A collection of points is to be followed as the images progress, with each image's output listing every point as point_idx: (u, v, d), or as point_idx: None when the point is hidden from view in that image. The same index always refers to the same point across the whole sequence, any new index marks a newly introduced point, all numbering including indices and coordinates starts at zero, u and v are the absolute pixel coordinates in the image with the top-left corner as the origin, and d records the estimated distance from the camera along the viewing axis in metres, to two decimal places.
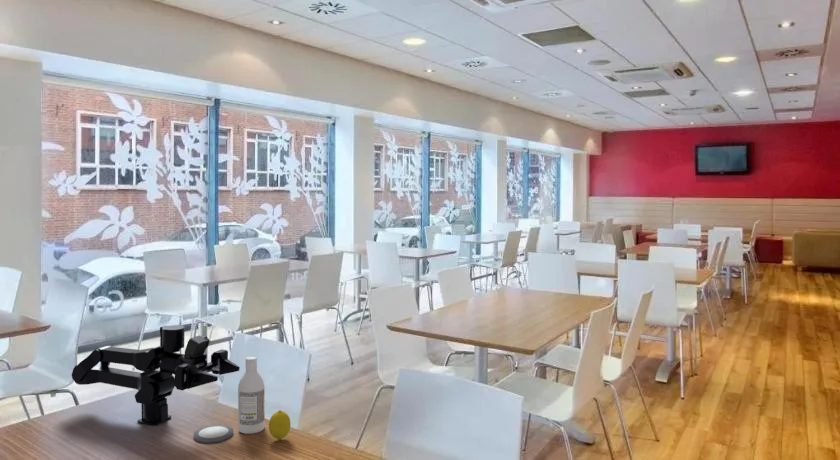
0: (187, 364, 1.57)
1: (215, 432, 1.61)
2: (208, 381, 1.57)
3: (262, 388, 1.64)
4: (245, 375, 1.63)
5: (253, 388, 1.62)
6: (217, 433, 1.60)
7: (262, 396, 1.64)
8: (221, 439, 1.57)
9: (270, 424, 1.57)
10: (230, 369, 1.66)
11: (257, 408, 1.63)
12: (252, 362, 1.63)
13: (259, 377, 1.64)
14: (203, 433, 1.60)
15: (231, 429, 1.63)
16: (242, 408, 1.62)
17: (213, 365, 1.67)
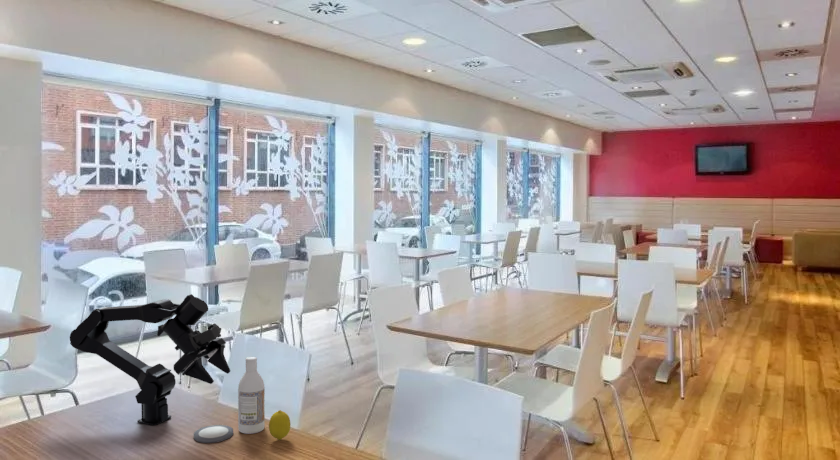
0: (196, 355, 1.60)
1: (215, 432, 1.61)
2: (203, 379, 1.61)
3: (262, 388, 1.64)
4: (245, 375, 1.63)
5: (253, 388, 1.62)
6: (217, 433, 1.60)
7: (262, 396, 1.64)
8: (221, 439, 1.57)
9: (270, 424, 1.57)
10: (221, 366, 1.71)
11: (258, 408, 1.63)
12: (252, 362, 1.63)
13: (259, 377, 1.64)
14: (203, 433, 1.60)
15: (231, 429, 1.63)
16: (242, 408, 1.62)
17: (209, 353, 1.70)
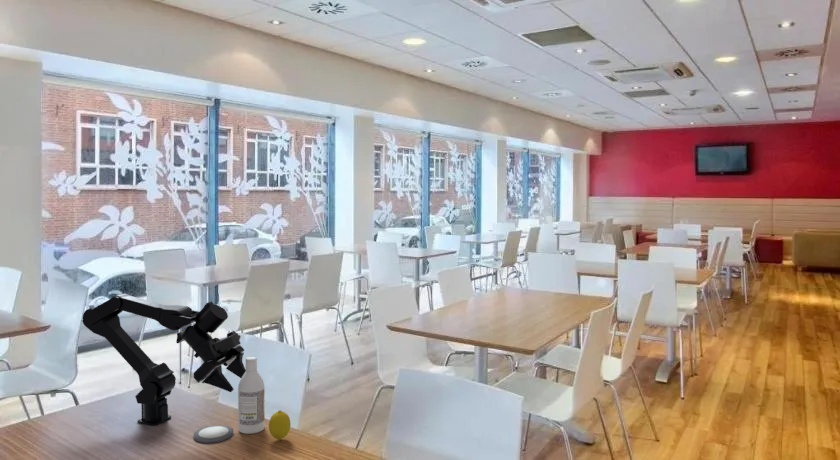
0: (216, 363, 1.59)
1: (215, 432, 1.61)
2: (223, 388, 1.60)
3: (262, 388, 1.64)
4: (245, 375, 1.63)
5: (253, 388, 1.62)
6: (217, 433, 1.60)
7: (262, 396, 1.64)
8: (221, 439, 1.57)
9: (270, 424, 1.57)
10: (239, 374, 1.70)
11: (258, 408, 1.63)
12: (252, 362, 1.63)
13: (259, 377, 1.64)
14: (203, 433, 1.60)
15: (231, 429, 1.63)
16: (242, 408, 1.62)
17: (227, 360, 1.69)
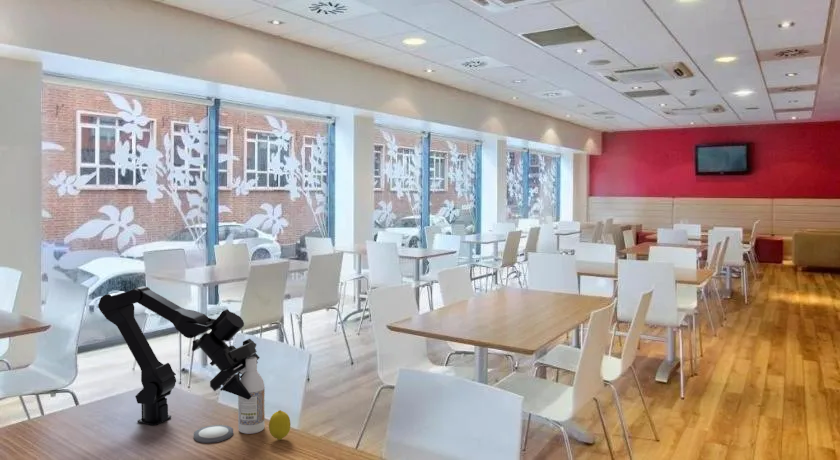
0: (232, 371, 1.58)
1: (215, 432, 1.61)
2: (241, 395, 1.60)
3: (262, 388, 1.64)
4: (245, 375, 1.63)
5: (253, 388, 1.62)
6: (217, 433, 1.60)
7: (262, 396, 1.64)
8: (221, 439, 1.57)
9: (270, 424, 1.57)
10: None
11: (258, 408, 1.63)
12: (252, 362, 1.63)
13: (259, 377, 1.64)
14: (203, 433, 1.60)
15: (231, 429, 1.63)
16: (242, 408, 1.62)
17: (243, 368, 1.69)
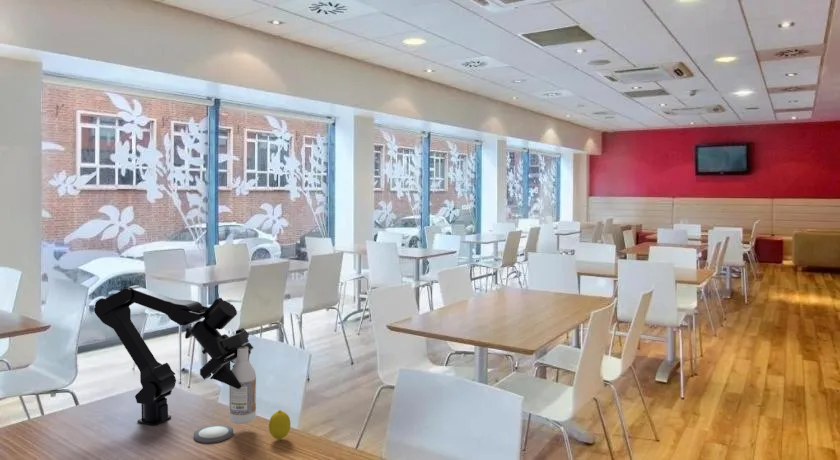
0: (222, 360, 1.57)
1: (215, 432, 1.61)
2: (231, 384, 1.59)
3: (253, 378, 1.62)
4: (236, 365, 1.61)
5: (244, 378, 1.60)
6: (217, 433, 1.60)
7: (253, 386, 1.62)
8: (221, 439, 1.57)
9: (270, 424, 1.57)
10: None
11: (248, 398, 1.61)
12: (243, 351, 1.61)
13: (250, 367, 1.62)
14: (203, 433, 1.60)
15: (231, 429, 1.63)
16: (232, 397, 1.61)
17: (236, 358, 1.67)
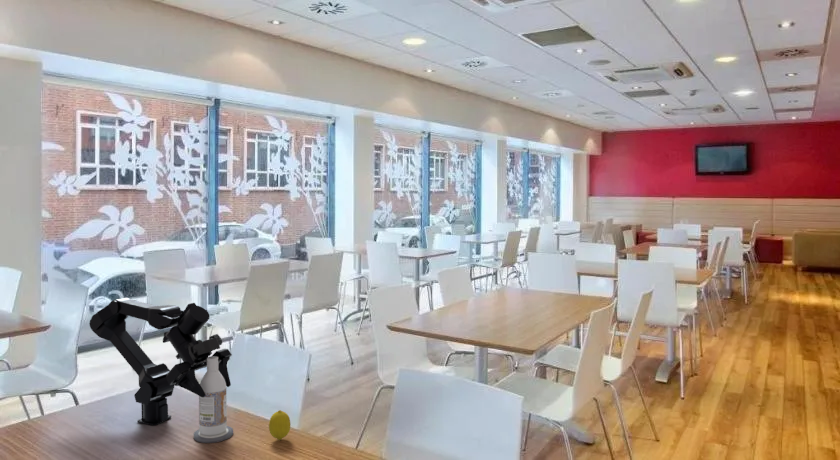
0: (188, 366, 1.55)
1: None
2: (195, 392, 1.56)
3: (222, 389, 1.59)
4: (205, 375, 1.59)
5: (211, 389, 1.58)
6: None
7: (221, 398, 1.59)
8: (221, 439, 1.57)
9: (270, 424, 1.57)
10: None
11: (215, 409, 1.58)
12: (211, 361, 1.59)
13: (219, 378, 1.60)
14: None
15: (231, 429, 1.63)
16: (200, 408, 1.59)
17: None
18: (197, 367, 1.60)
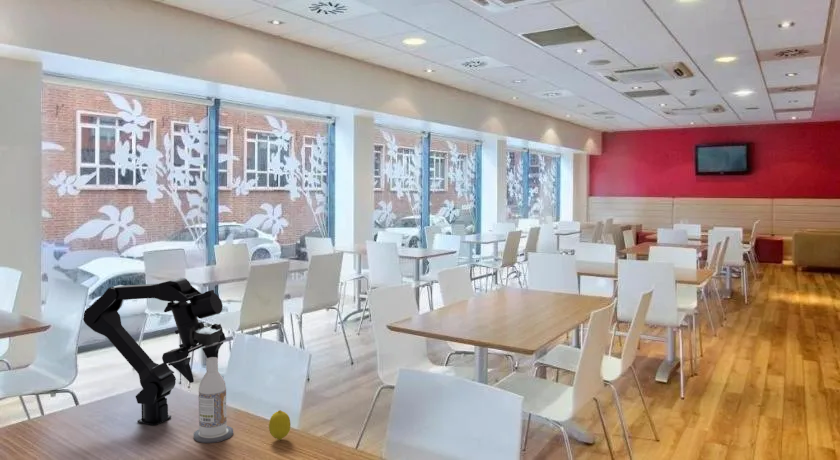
0: (186, 354, 1.60)
1: None
2: (185, 376, 1.63)
3: (221, 390, 1.59)
4: (205, 376, 1.59)
5: (210, 390, 1.57)
6: None
7: (221, 399, 1.59)
8: (221, 439, 1.57)
9: (270, 424, 1.57)
10: None
11: (215, 410, 1.58)
12: (211, 363, 1.58)
13: (219, 379, 1.59)
14: None
15: (231, 429, 1.63)
16: (200, 409, 1.58)
17: (205, 345, 1.71)
18: (192, 350, 1.66)
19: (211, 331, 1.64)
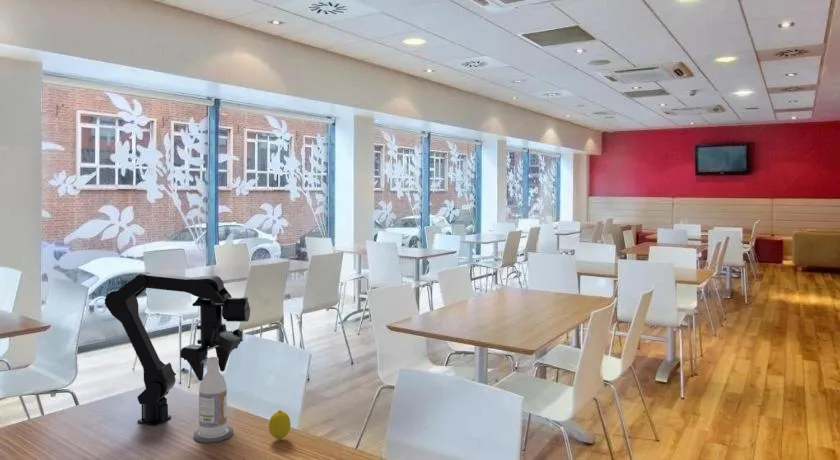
0: (204, 354, 1.62)
1: None
2: (196, 373, 1.65)
3: (222, 390, 1.59)
4: (205, 375, 1.59)
5: (211, 390, 1.57)
6: None
7: (221, 399, 1.59)
8: (221, 439, 1.57)
9: (270, 424, 1.57)
10: (220, 361, 1.74)
11: (215, 410, 1.58)
12: (212, 362, 1.59)
13: (219, 379, 1.59)
14: None
15: (231, 429, 1.63)
16: (200, 409, 1.58)
17: None
18: (209, 349, 1.68)
19: (233, 337, 1.67)
